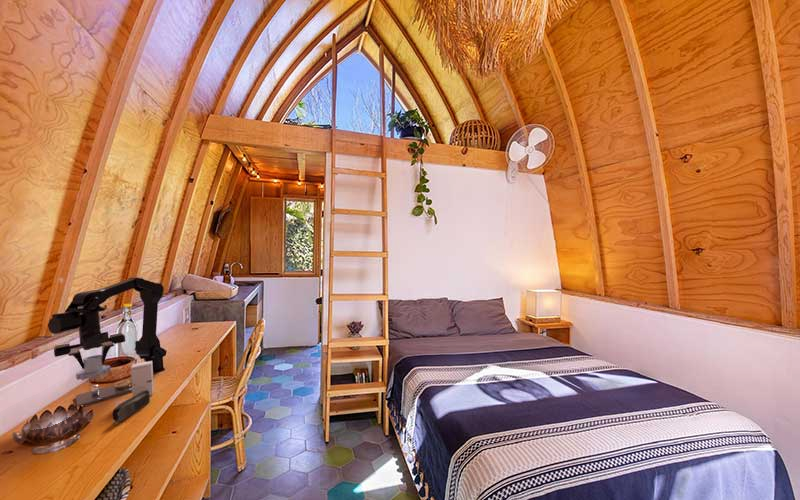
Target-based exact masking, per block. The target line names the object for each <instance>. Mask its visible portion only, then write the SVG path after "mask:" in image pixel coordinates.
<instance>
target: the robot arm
mask: <svg viewBox="0 0 800 500" xmlns="http://www.w3.org/2000/svg"><path fill="white" fill-rule="evenodd" d="M164 289H165V288H164V285H162V284H161V283H159V282H155V281H154V282H153V281H150V280H147V279H144V278H142V277H137V276H136V277H129V278H127V279H125V280H122V281H118V282H117V283H114V284H111V285H108V286H104V287H103V288H98V289H93V290H86V291H81V292H77V293H75V294H74V295H73V297H72V301H71V302H70V303H69V305H68V306H67V308H66V309H65V310H64V312H61V313H53V314H51V318H50V319H49V321H48V323H47V328H48V330H49V332H50V333H51V334H53V335H58V334H62V333H65V332H69V331H74V330H77V329H78V334H79V335H78V336H79V343H77V344H72V345H71V344H70V343H64V344H59V345H55V346H54V347H53V355H54V358H55V357H61V356H67V355H68V357H72V356H73V357H74V358H75V359H76V361H77V362H78V363H79V365H80V367H81V369H82V370H84V362H83V357H82V355H81V354H82V353H81V351H80V350H81V349H83V350H84V351H88V350H92V349H95V348H96V349H98V348H99V349H100V348H101V356H102V365H104V364H105V361H106V358H107V356H108V355H107V354H108V352H109V351H110V349H111V348H113V347H114V346H115V345H117V344H121V343H125V342H126V336H125V335H124V333H123V332H119V333H113V334H109V332H108V331H105V332H102V330H101V321H100V320H101V319H100V312H104V311H106V308H104V307H102V306H101V305H103V304H104V303H105V302H106V301H107V300H108V299H110V298H112V297H114V296H117V295H120V294H122V293H124V292H128V291H130V290H134V291H136V292H138V293H139V296H140V297H139V298H140V299H141V301H142V303H143V313H142V314H143V316H142V330H141V331H142V332H141V337H140V339H139V340H136V341H135V342H134V344H135V346H134V351H135V354H136V355H138V356H139V358H140V360H143V362H147V361H152V366H153V374H155V373H158V372H161V371H165V370H166V369H165V367H164V357H165V356H167V350H166V349H165V348H163V347H161V340H160V338H158V336H157V329H158V328H157V325H158V310H159V309H158V307H159V305H158V304H159V302H160V301H161V299H162V297H163V294H164V291H165V290H164Z"/></svg>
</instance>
